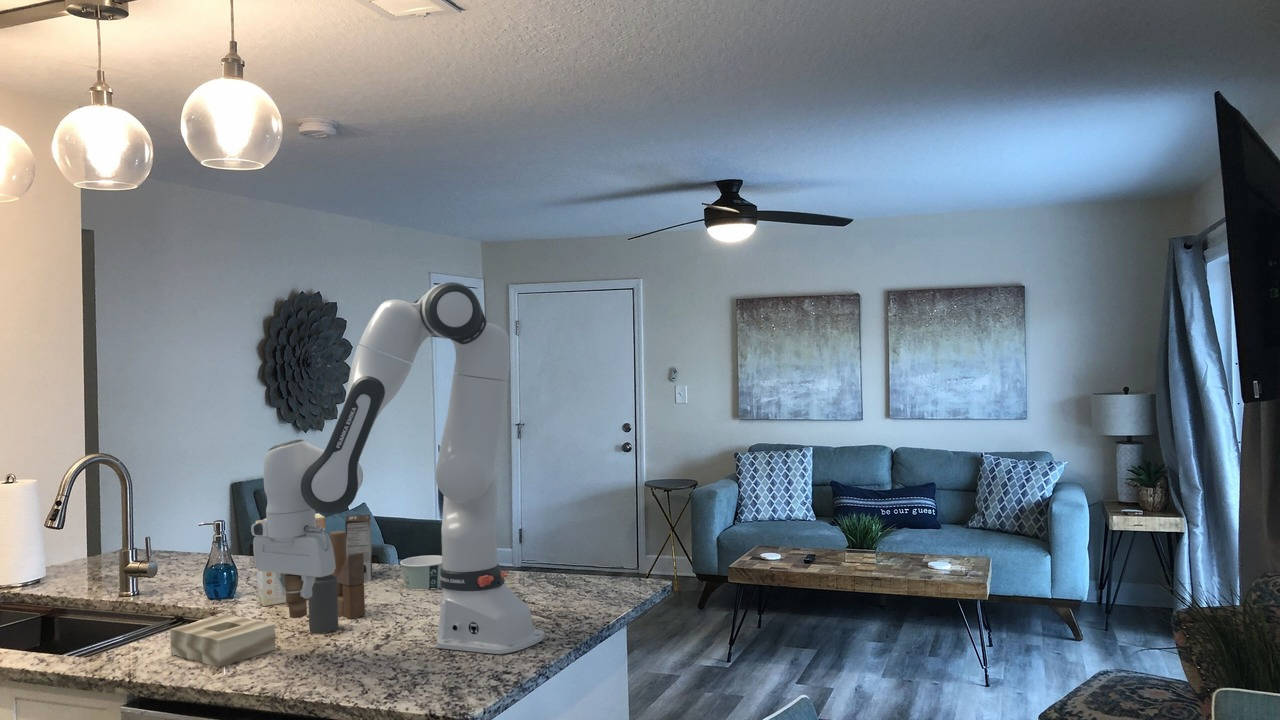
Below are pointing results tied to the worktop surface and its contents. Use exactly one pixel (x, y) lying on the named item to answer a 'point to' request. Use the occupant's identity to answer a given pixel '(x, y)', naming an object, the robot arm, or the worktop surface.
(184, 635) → the board
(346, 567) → the wooden block
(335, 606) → the bottle
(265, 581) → the coffeecake box
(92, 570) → the worktop surface
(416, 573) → the food container
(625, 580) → the worktop surface
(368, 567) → the coffee box
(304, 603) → the peg
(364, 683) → the worktop surface
